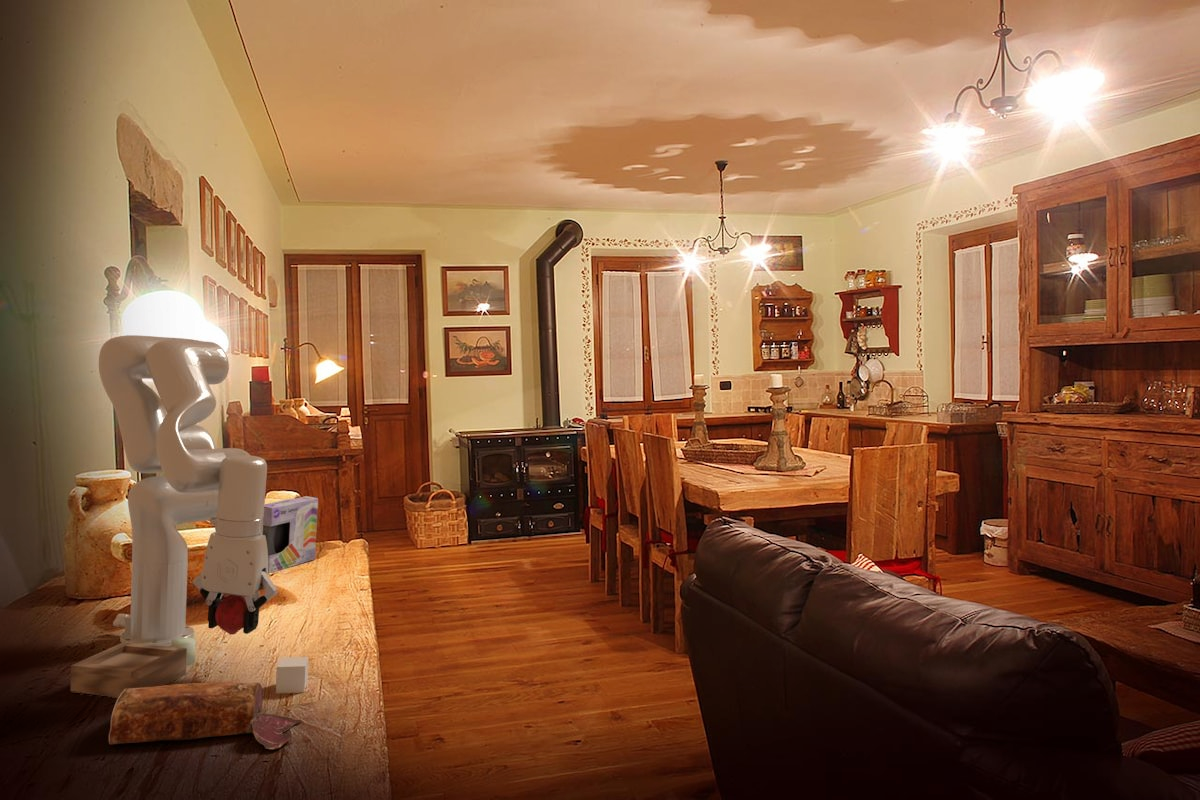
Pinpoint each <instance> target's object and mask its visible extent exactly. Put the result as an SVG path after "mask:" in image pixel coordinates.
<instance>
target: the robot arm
mask: <svg viewBox="0 0 1200 800" xmlns="http://www.w3.org/2000/svg"><path fill="white" fill-rule="evenodd" d="M98 354H99V355H98V372H99V377H100V381H101V384H102V386H103V387H102V388H103V389H104V391H105V393H106V395H107V397H108V398H109V400H110V402H111V404H112V406H113V409H114V411H115V414H116V418H117V422H118V427H119V430H120V435H121V439H122V445H123V448H124V452H125V457H126V459H127V462H128V465H129V467H130V468H131V470H133V471H134V472H137V473H140V474H161V473H163V474H164V475H157V476H149V477H146V478H143V479H141V480H139V481H136V483H134V484H133V485H132V486H131V488H130V490H129V492H128V495H127V504H128V513H129V518H130V525H131V539H132V545H131V546H132V549H131V551H132V552H131V556H132V557H131V582H130V584H131V585H130V588H131V589H130V591H131V592H130V614H127V613H118V614H117V615H116V617H115V619H114V620H113V622H112V625H113V627H115V628H116V627H117V628H123V629H124V632H123V633H122V634H121V635H120V638H119V639H120V640H119V643H120V642H121V643H123V642H126V643H136V644H146V645H156V646H166V647H171V641H172V640H174V639H177V638H183V637H191V638H194V637H195V630H194V628H193V627H192V626H190V625H186V620H187V619H186V618H187V617H186V616H187V594H188V592H187V591H188V590H187V589H188V587H187V586H188V561H189V560H188V558H189V557H188V556H189V548H188V545H187V542H186V539H185V538H184V537H183V535H182V534H181V533H180V531H178V529H177V527H176V526H177V525H183V524H187V523H188V524H190V523H198V522H199V523H200V522H206V521H209V524H210V525H214V529H215V530H214V532H211V533H210V535H209V539H208V542H207V544H206V549H205V553H204V557H203V558H204V559H203V564H202V569H201V570H202V571H201V572H200V574H198V575H197V576H196V577H195V578H194V579H193V580H192V583H193V585H194V587H196V588H197V590H198V591H199V593H200V594H201V596H202V597H203V599H204V600H205V604H206V605H207V606H208V610H207V621H208V629H214V628H215V627H217V626H218V624H217V622H216V618H215V612H216V609H217V607H218V605H219V603H220V602H221V601H222V597H223V595H228V596H229V595H236V596H243V597H244V598H245V600H246V603H247V607H248V610H247V611H245V613H244V627H243V628H242V629H243V634H246V635H248V634H250V633H252V632H253V631H255V630H257V628H258V625H259V618H260V608H261V607H263V606H264V605H265V604H266V603H267V602H268V601H270V600H271V599H272V598H274V596H276V595H277V594H278V593H279V589H278V588H277V586H276V585H275V584H274V582H273V581H272V579H271V578H270V577H269V573H268V550H267V542H266V537H265V535H262V533H263V519H264V504H266V503H265V502H266V492H267V491H266V489H267V488H266V487H267V486H266V485H267V474H268V464H267V462H266V460H265V459H264V458H262V457H260V456H256V455H251V454H250V453H249V452H248V451H246V450H244V449H242V448H235V447H227V448H216V445H215V441H214V439H213V437H212V435H211V433H210V432H209V431H208V430H207V429H206V428H204V427H203V426H201V425H199V424H200V423H201V422H203V421H204V420H207V418H209V417H210V416H211V415H212V414H213V412H214V411H215V409H216V406H217V400H216V396H215V395H214V393H213V391H212V389H211V386H210V385H212V386H213V385H214V386H215V385H218V384H221V383H223V381H224V380H226V378H227V377H228V375H229V369H230V364H229V359H228V355H227V354H226V352H225V350H224V349H223V348H222V347H221V346H220V345H219V344H217V342H213V341H203V340H198V339H197V340H196V339H188V338H183V337H182V338H181V337H168V336H167V337H165V336H154V335H153V336H150V335H136V334H135V335H120V336H115V337H112V338H110V339H108V340H106V341H105V342H104V343H103V345H102V346H101V347H100V351H99V353H98ZM143 379H144V380H145V379H147V380H148V379H151V380H152V381H153V384H154V386H155V388H156V391H157V393H158V394H157V393H156V392H155V391H154V389H153V388H151V387H150V386H148V385H147V384H146V383H145V382H144V381H143ZM263 590H264V591H265V592H264V594H262V595H261V592H260V591H263ZM218 627H219V626H218ZM121 643H120V644H121Z"/></svg>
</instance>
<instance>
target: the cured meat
mask: <svg viewBox="0 0 1200 800" xmlns="http://www.w3.org/2000/svg"><path fill="white" fill-rule="evenodd" d="M263 697H264V696H263V686H262V684H261V683H260V682H235V681H234V682H231V681H212V682H193V683H191V682H189V683H175V684H168V685H165V686H155V687H144V688H129V689H124V691H123V692H122V693H121V694H120V696H119V698H116V700H115V701H116V702H115V704H114V707H113V710H112V713H111V717H110V724H109V725H110V728H109V731H108V745H119V744H120V745H122V744H131V743H133V744H134V743H146V742H149V743H150V742H158V741H186V740H188V741H189V740H196V739H197V740H198V739H203V738H210V737H211V738H212V737H223V736H232V735H240V734H241V735H242V734H253V736H254V738H255V740H256V741H257V742H258V743H259V744H260V745H262V746H264V748H265V749H267V750H277V749H280V748H281V747H283V746H284V745H285V744H286V743H287V742H289V741H290V740H291V738H292V736H293V735H292V734H289V733H285V732H287V731H288V730H289V729H290V728H292V727H293V726H294V725H298V724H300V723H302V721H303V719H302V718H292V717H285V716H282V715H276V714H269V713H259V712H262V709H263Z"/></svg>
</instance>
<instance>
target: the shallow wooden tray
mask: <svg viewBox="0 0 1200 800" xmlns="http://www.w3.org/2000/svg"><path fill="white" fill-rule="evenodd" d="M186 658H187V648H176V647H171V646H170V647H166V646H156V645H146V644H136V643H126V642H123V643H119V644H116V645H114V646H112V647H110V648H107V649H106V650H102V651H100V652H98V653H95V654H94V655H91V656H89V657H87V658H84V659H82V660H80V661H78V662H76V663H73V664H72V665H70V689H69V690H70V691H76V692H82V693H87V694H96V695H103V696H108V697H107V698H110V697H112V699H118V698H119V696H120V694H121V693H122V692H123V691H124V689H129V688H144V687H155V686H165V685H167V684H168V685H170V684H172V683H173V682H175V681H176V679H177V680H179V679H180V678H182V677H184V676H186V675H185V674H187V666H186ZM183 675H184V676H183ZM174 680H175V681H174ZM70 691H69V692H70Z"/></svg>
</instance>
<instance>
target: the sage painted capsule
mask: <svg viewBox="0 0 1200 800" xmlns="http://www.w3.org/2000/svg"><path fill="white" fill-rule="evenodd" d="M196 645H197V639H196V638H194V637H193V638H191V637H183V638H177V639H174V640H172V641H171V646H170V647H176V648H187V658H186V667H187V665H188V666H191V665H193V664H195V663H196V648H197V647H196Z"/></svg>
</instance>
